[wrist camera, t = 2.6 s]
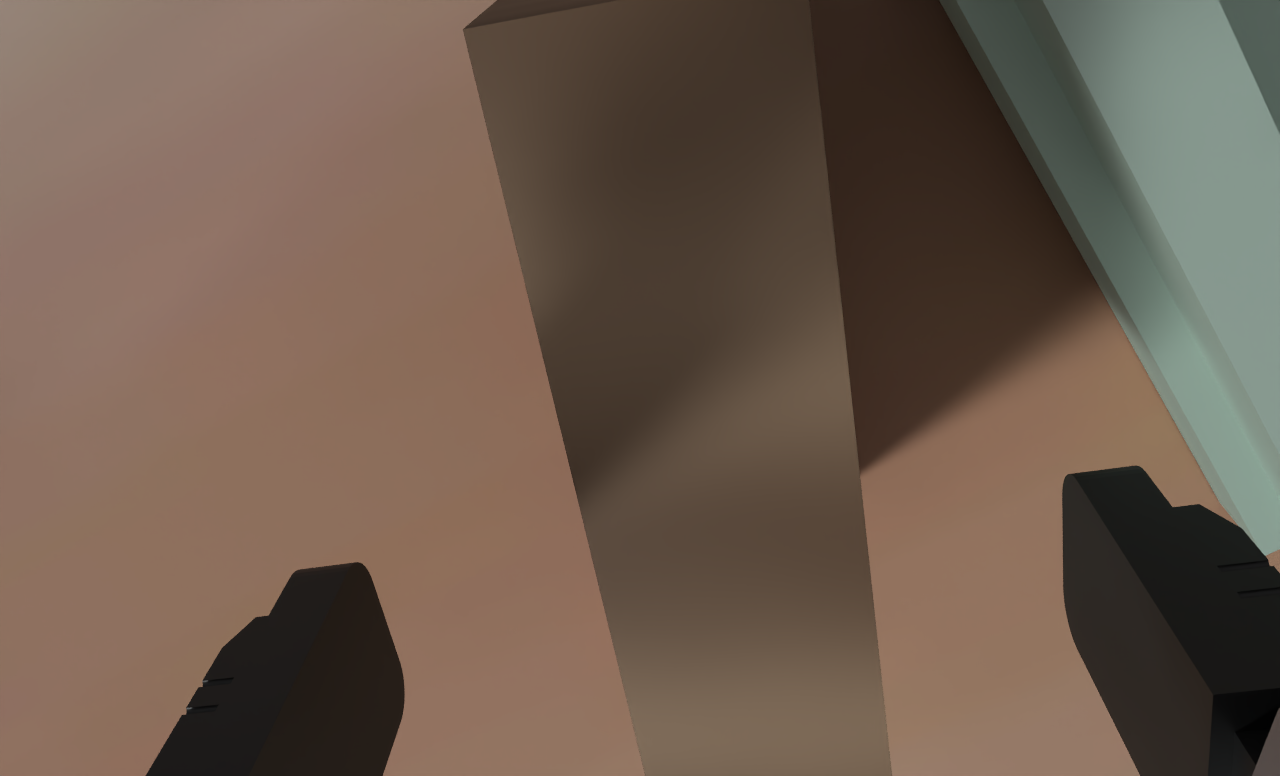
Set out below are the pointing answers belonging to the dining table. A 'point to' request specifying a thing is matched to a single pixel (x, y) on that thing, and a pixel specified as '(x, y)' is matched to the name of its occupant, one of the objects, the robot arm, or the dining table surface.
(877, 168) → the dining table surface
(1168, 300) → the picture ledge
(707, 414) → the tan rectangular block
